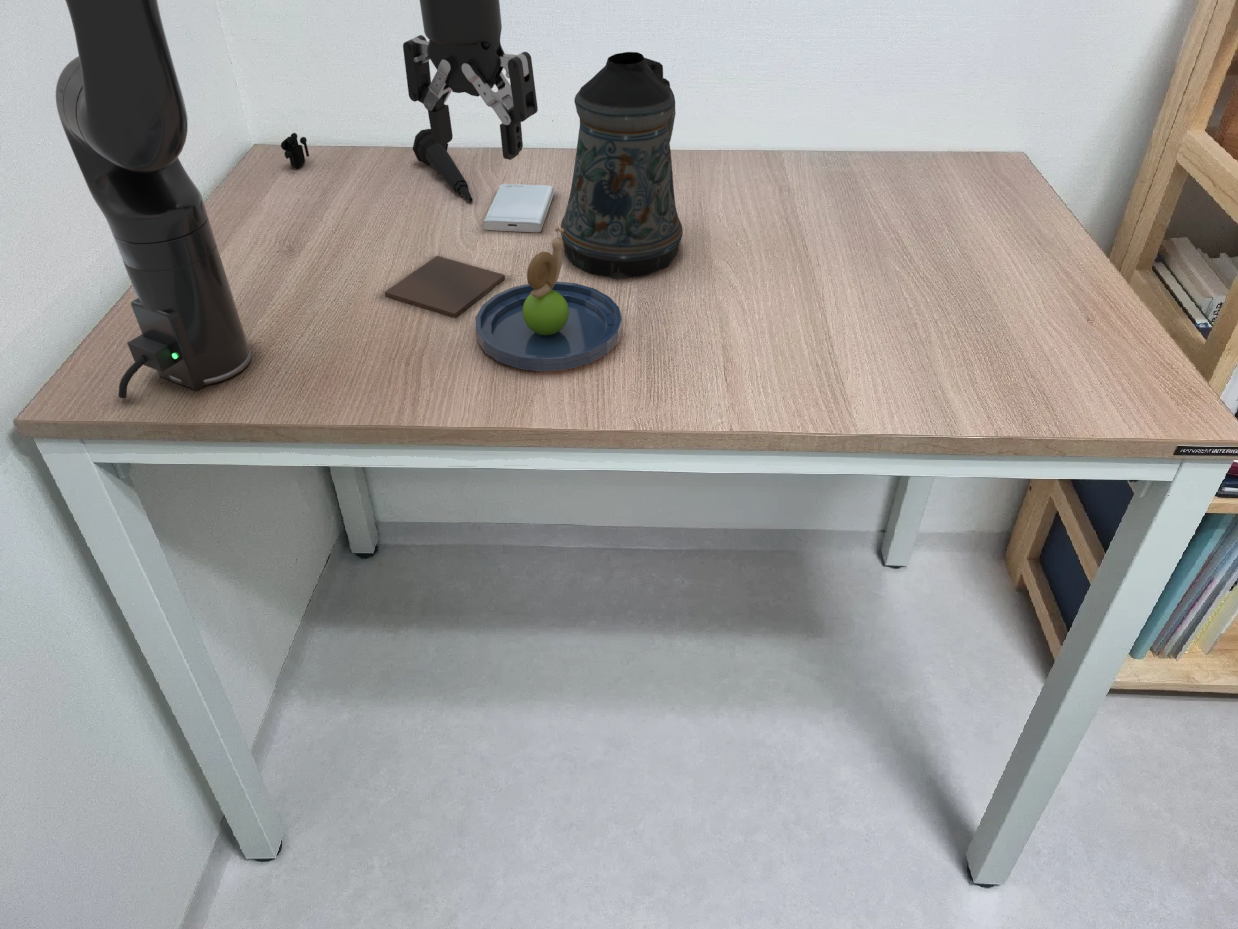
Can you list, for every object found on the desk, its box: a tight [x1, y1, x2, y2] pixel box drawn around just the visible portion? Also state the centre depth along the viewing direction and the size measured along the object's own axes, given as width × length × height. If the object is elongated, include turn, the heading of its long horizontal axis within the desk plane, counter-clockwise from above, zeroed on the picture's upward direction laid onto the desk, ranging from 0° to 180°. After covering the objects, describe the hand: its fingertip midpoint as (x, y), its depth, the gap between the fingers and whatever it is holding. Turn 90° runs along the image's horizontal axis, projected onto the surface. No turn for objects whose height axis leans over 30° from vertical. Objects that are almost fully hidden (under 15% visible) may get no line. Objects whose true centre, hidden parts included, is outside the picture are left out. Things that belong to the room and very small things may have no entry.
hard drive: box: [483, 183, 555, 233], centre depth 134 cm, size 2×8×12 cm
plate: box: [474, 280, 623, 372], centre depth 109 cm, size 17×17×2 cm
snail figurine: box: [523, 226, 569, 335], centre depth 106 cm, size 5×6×12 cm
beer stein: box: [560, 51, 683, 280], centre depth 119 cm, size 16×19×25 cm
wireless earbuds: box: [280, 132, 310, 170], centre depth 146 cm, size 7×2×5 cm, turn 169°
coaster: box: [384, 255, 506, 318], centre depth 118 cm, size 11×11×1 cm
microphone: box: [412, 128, 474, 203], centre depth 142 cm, size 6×6×20 cm
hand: (477, 149), depth 97 cm, fingers open, 8 cm apart
